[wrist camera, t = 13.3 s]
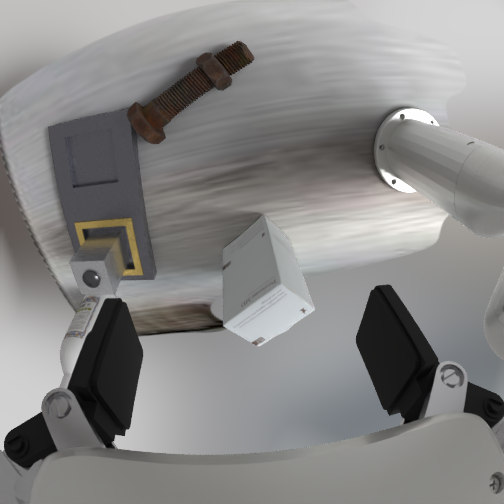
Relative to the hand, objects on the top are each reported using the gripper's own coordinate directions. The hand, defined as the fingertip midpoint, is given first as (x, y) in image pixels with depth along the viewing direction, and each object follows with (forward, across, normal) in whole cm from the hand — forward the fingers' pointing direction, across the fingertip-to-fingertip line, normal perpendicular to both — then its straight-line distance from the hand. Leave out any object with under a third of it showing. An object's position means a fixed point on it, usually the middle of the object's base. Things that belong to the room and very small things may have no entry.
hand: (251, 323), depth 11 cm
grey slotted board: (+28, +18, +5) cm, 34 cm away
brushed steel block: (+27, +18, +12) cm, 35 cm away
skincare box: (+28, -3, +13) cm, 31 cm away
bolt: (+29, +4, -9) cm, 30 cm away
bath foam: (+28, +23, +23) cm, 43 cm away
